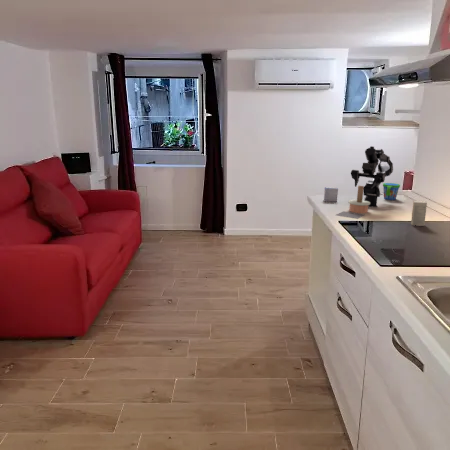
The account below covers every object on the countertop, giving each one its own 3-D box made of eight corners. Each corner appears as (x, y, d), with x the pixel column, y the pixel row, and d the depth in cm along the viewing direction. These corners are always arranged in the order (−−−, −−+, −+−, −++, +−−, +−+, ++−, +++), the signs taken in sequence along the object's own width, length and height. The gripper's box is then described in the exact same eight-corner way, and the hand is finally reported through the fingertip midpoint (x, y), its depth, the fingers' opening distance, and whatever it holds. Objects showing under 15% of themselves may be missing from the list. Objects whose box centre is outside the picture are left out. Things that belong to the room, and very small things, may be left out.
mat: (343, 212, 249) (343, 211, 249) (365, 215, 242) (365, 214, 242) (335, 216, 239) (335, 215, 239) (357, 219, 232) (357, 218, 232)
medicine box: (336, 200, 282) (337, 187, 280) (337, 201, 278) (338, 188, 276) (323, 200, 283) (324, 186, 281) (324, 201, 278) (325, 187, 276)
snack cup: (385, 196, 300) (387, 181, 297) (401, 198, 294) (403, 183, 291) (377, 199, 288) (379, 184, 285) (393, 202, 282) (395, 186, 279)
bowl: (364, 210, 256) (365, 201, 255) (369, 214, 246) (370, 205, 245) (347, 209, 256) (348, 201, 255) (352, 213, 246) (352, 204, 245)
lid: (366, 201, 256) (368, 184, 253) (373, 205, 244) (375, 188, 242) (346, 200, 256) (347, 184, 253) (351, 205, 244) (353, 187, 242)
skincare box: (423, 224, 226) (426, 201, 223) (424, 226, 222) (427, 203, 219) (410, 223, 228) (413, 200, 225) (410, 225, 224) (413, 201, 221)
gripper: (353, 155, 256) (344, 177, 251) (385, 158, 246) (377, 181, 240) (356, 167, 265) (348, 188, 259) (388, 171, 254) (380, 192, 249)
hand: (363, 187), depth 252 cm, fingers open, 9 cm apart
